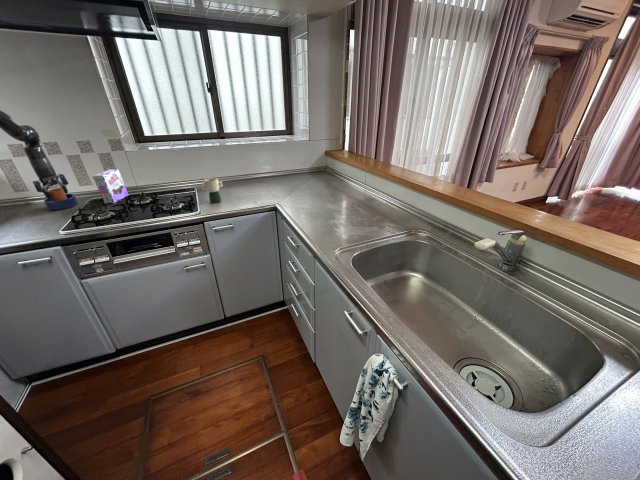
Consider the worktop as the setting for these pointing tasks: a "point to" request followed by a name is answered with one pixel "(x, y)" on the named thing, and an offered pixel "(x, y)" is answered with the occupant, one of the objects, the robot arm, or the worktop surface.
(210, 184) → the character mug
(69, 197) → the bowl
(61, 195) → the cup
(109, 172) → the candy box
